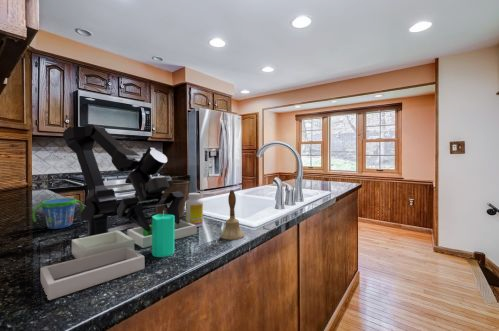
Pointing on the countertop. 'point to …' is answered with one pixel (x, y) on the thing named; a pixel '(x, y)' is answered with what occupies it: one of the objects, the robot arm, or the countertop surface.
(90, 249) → the bin
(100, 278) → the grey rectangular frame
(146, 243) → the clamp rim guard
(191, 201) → the supplement bottle
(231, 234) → the hand bell
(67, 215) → the snack cup
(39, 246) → the countertop surface
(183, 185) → the plant pot
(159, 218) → the candle
